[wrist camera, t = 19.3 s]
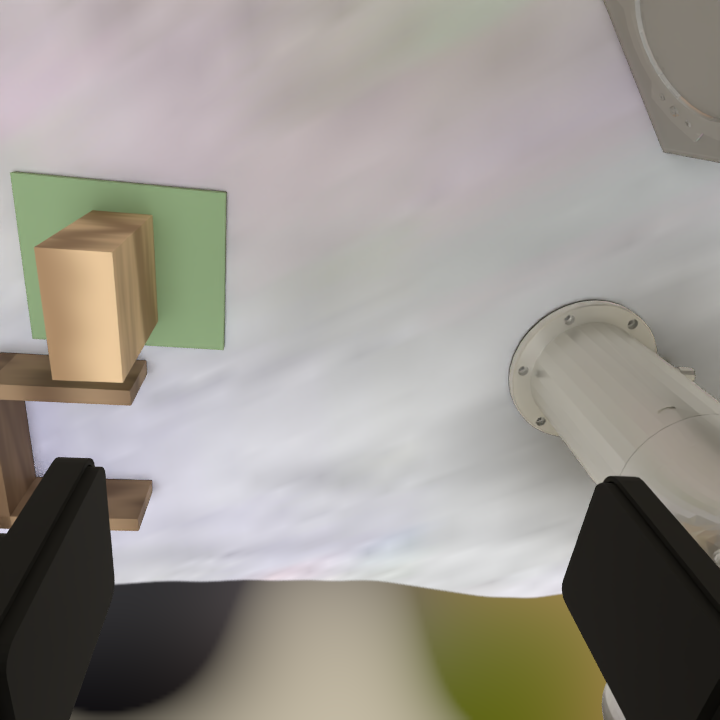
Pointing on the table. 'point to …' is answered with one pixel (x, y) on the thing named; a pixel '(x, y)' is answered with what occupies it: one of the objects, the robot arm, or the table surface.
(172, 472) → the table surface
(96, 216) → the block
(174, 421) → the table surface
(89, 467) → the robot arm
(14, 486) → the slot rack
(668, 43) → the portable television
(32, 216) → the green mat
